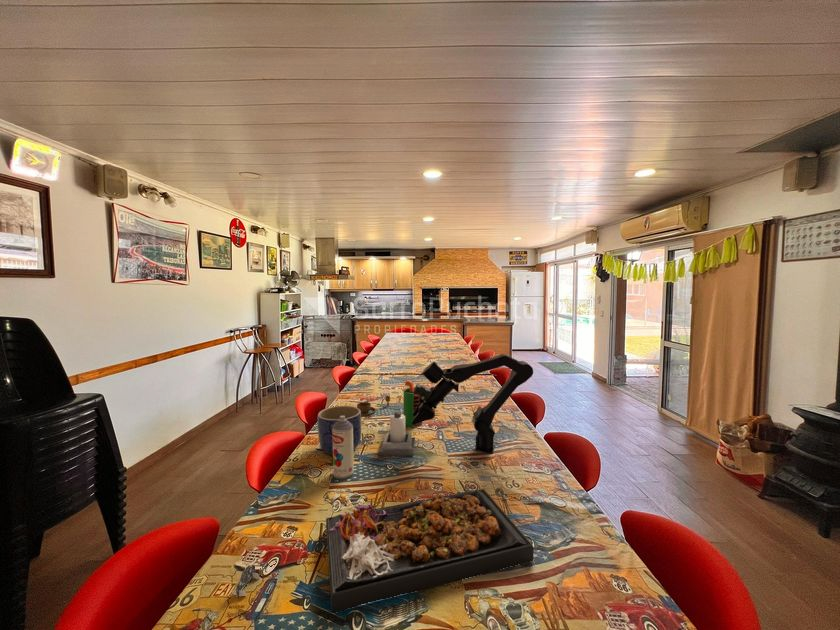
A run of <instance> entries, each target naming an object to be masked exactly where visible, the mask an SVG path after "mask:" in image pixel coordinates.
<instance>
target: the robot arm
mask: <svg viewBox="0 0 840 630" xmlns="http://www.w3.org/2000/svg"><path fill="white" fill-rule="evenodd" d="M501 367H506V368H508V369H510V374H509V377H508V379H507V380H506V381H505V383H504V384H503V385H502V386H501V387H500V389H499V390H498V391H497V392H496V394H494V396H493V397H492V399H491V400H490V401H489V402H488V403H487V405H485V406H484V407H481V406H480V405H479V406H478V407H477V409H476V411H474V412H473V415H472V419H471V421H472V423H473V427H474V429H475V430H476V431H477V433H476V436H475V450H476V451H477V452H484V453H494V450H495V448H496V444H495V434H496V431H495V429H494V427H493V425H492V423H493V421H494V419H495V415H496V414H497V413H498V411H499V410H500V409H501V408H502V407H503V405H504V404H505V403H506V402H507V400H508V399H509V398H510V397H511V395H512V394H514V392H515V390H517V388H518V387H519V386H521V385H523V384H525V383H526V382H527V381H528V380H529V379H530V378H532V377H533V375H534V369H533V367H532V366H531V365H530V364H529V363H528V362H526V361H524V360H517V359H515V358H514V357H511V356H509V355H507V354H506V353H501V354H499V355H496V356H492V357H488V358H485V359H483V360H480V361H477V362H473V363H462V364H456V365H453V366H452V367H449V368H441V366H439V365H438V364H437V362H436V361H433V362H431V363H430V364H429V365H427V366H426V367H425V368H424V369H423V370H422V371H421V375H422V376H424V377H425V378H426V379H427V380H428V381H429V382H430V383H431V384H436V385H434V386H431V387H430V388H429V387H427V386H426V385H423V384H420V383H418V382H417V383H416V385H415V387H414V388H415V389H414V392H413V393H414V394H416V395H419V396H420V403H419V404H418V406H417V408H416V409H415V411H414V413H413V416H415V418H414V419H413V421H412V422H411V423H412V424H413V425H414V424H417V423H420V422H422V423H423V422H425V421H426V422H427V421H431V420H433V419H434V418H435V417H436V409H437V407H438V405H439V404H440V403H441V402H442V403H443V402H445V398H446V397H447V396H448V395H449V394H450V393H452V392H453V390H454V391H456V392H457V393H459V386H460V384H461V383H463V382H465V381H467V380H469V379H470V378H472V377H473V376H475V375H478V374H481V373H484V372H487V371H491V370H494V369H497V368H501Z"/></svg>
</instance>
